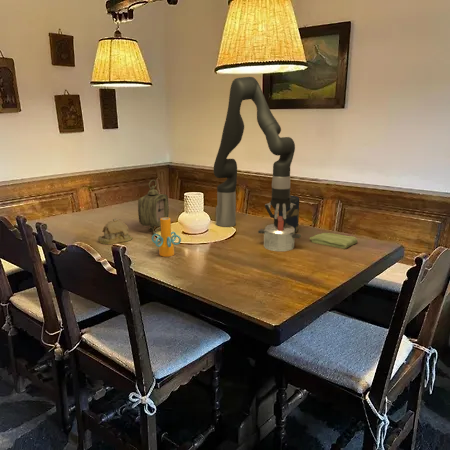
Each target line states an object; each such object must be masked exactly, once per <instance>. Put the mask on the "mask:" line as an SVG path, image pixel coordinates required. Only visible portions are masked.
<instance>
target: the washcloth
mask: <svg viewBox="0 0 450 450" xmlns="http://www.w3.org/2000/svg"><path fill="white" fill-rule="evenodd" d="M309 241H311V243H312V244H318V245H321V246H328V247H333V248H337V249H341V250H342V249H343V250H346V249H347V248H350V247H351V246H353V245H355V244H357V243H358V239H357V237H355V236H353V235H352V236H351V235H350V236H348V235H345V234H339V233H338V234H337V233H332V232H322V233H318V234H315V235H314V236H310V237H309Z"/></svg>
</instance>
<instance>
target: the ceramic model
mask: <svg viewBox="0 0 450 450" xmlns="http://www.w3.org/2000/svg"><path fill="white" fill-rule="evenodd" d="M102 233H103V235H102V236H101V235H99V236H98V241H99V243H100V244H103V245H113V244H118V243H123V242H129V241H131V240H132V239H133V237H132V236H131V235H130V233H129V227H128V225H127V224H126V223H124V221H123V220H121V219H117V218H113V219H112V220H111V221H108V222H107V223H106V224H105V225H104V226H103V229H102Z"/></svg>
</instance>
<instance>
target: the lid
mask: <svg viewBox="0 0 450 450" xmlns="http://www.w3.org/2000/svg"><path fill="white" fill-rule="evenodd" d="M277 219H278V222H277V228H276V227H275V226H274V223H270V224H267V225H266V226H265V228H264V230H265V231H266V232H267V233H269V234H273V235H289V234H292V233H294V232H295V228H294V227H293V226H291V225H287V224H286V226H284V228H283V223H284V221H283V217H282V216H279V215H278V217H277ZM295 233H296V232H295Z"/></svg>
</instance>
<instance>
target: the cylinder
mask: <svg viewBox="0 0 450 450" xmlns="http://www.w3.org/2000/svg"><path fill="white" fill-rule="evenodd" d="M171 220H172V219H171V217H168V218H161V219H160V223H161V226H160V234H159V233H156V234H152V236H151V241H152V242H153V244H155V246H156V247H157V248H158V250H159V252H158V253H159V254H158V255H159V256H160V257H164V258H169V257H172V256H174V255H175V246H178V245H180V244H181V242H182V238H181V236H180V235H178V234H177V233H176V231H172V222H171ZM155 236H157V237H156V239H154V238H155ZM177 238H178V242H175V241H176V239H177Z"/></svg>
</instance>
